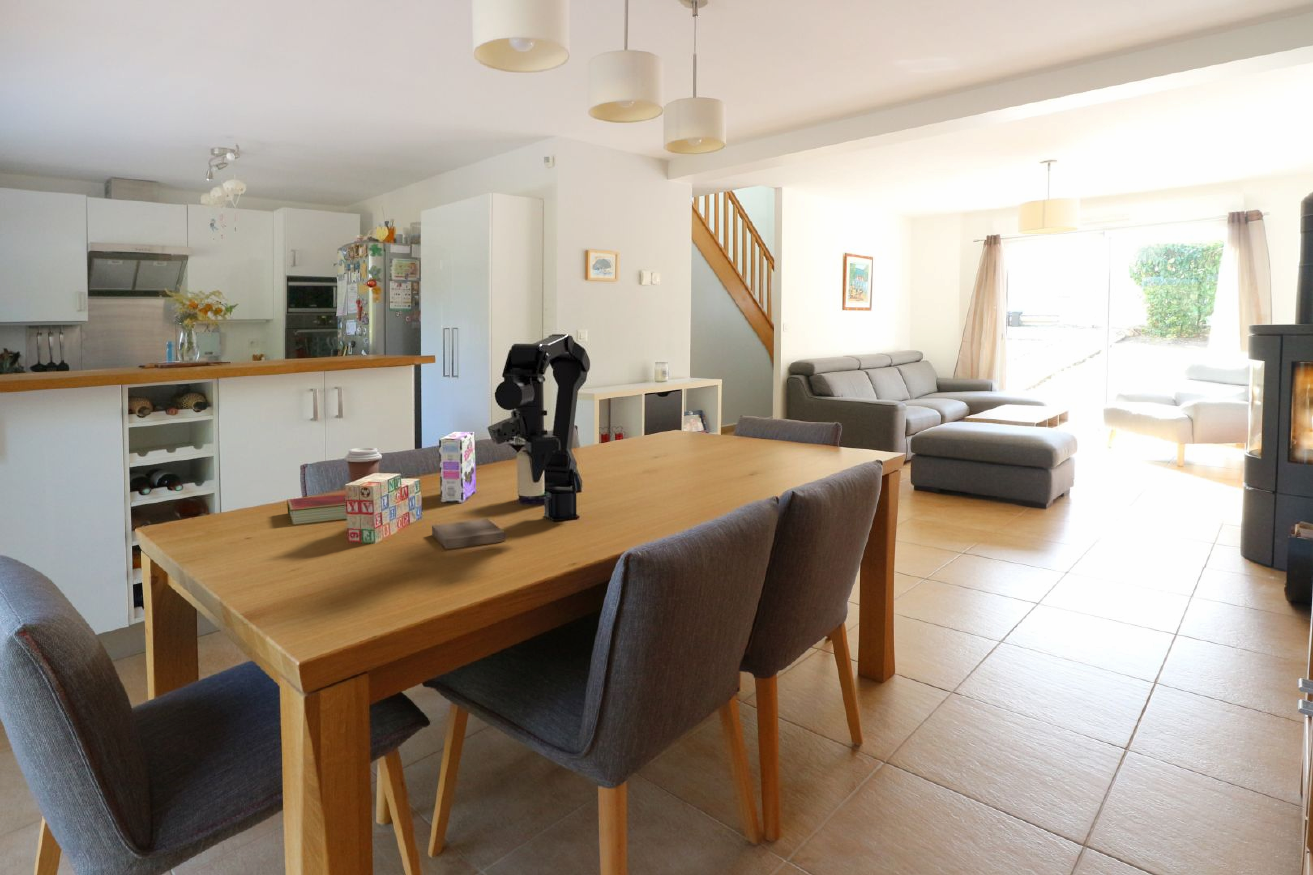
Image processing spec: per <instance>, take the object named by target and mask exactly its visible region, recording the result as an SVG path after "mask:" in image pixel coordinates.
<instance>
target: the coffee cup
mask: <svg viewBox="0 0 1313 875" xmlns="http://www.w3.org/2000/svg"><path fill="white" fill-rule="evenodd" d="M382 458H383V456H382V454H381V453H380V452H379V451H378V448H376V447H368V446H367V447H355V448H351V449H349V450H348V453H347V455H345V456H344V461H346V462H347V466H348V474H349V481H350V482H349V483H351V482H354V481H356V480H359V479H362V478H363V477H366V476H369V475H371V474H374V473H380V460H381V459H382Z"/></svg>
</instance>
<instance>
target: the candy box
mask: <svg viewBox="0 0 1313 875" xmlns="http://www.w3.org/2000/svg"><path fill="white" fill-rule="evenodd" d="M475 441H476V440H475V431H453V432H452V433H450V434H447V435H445V436H443V437H440V438H438V446H439V447H438V450H439V455H438V456H439V479H440V481H439V483H440V487H439V488H440V503H459V504H460V503H462V504H463V503H465V502H466V500H468V499H469V498H470V497H471V496H472V495H473V494H475V493H476V492H477V473H476V448H475V447H476V446H475V444H476V442H475Z"/></svg>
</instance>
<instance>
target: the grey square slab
mask: <svg viewBox="0 0 1313 875" xmlns="http://www.w3.org/2000/svg"><path fill="white" fill-rule="evenodd" d="M431 535H432V537H434V538H435V540H437V542H439V543H440V544H441V545H442V547H443V548H445V549H446V550H452V549H453V550H454V549H458V548H466V547H474V546H481V545H488V544H497V543H503V542H506V539H505V538H506V536H505V531H504V530H503V529H501V528H500V527H499V526H497V525H496V524H495V523H493V521H490V520H489V518H485V519H477V520H469V521H459V522H452V523H445V524H435V525H431Z"/></svg>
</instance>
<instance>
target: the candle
mask: <svg viewBox="0 0 1313 875" xmlns="http://www.w3.org/2000/svg"><path fill="white" fill-rule="evenodd" d="M522 450H526V447H525V446H524V447H522V449H521V450H520V451H519V452H518V453H517V454H516V467H517V468H516V469H517V471H516V472H517V475H516V478H517V495H521V496H539V495H543V494H544V471H543V474H542V476H541V478H540V480H539V482H536V483H534V482H533V478H532V473H531V466H530V460H529V457H528V456H527V455H526V454H525V453H524V452H523V451H522Z"/></svg>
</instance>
